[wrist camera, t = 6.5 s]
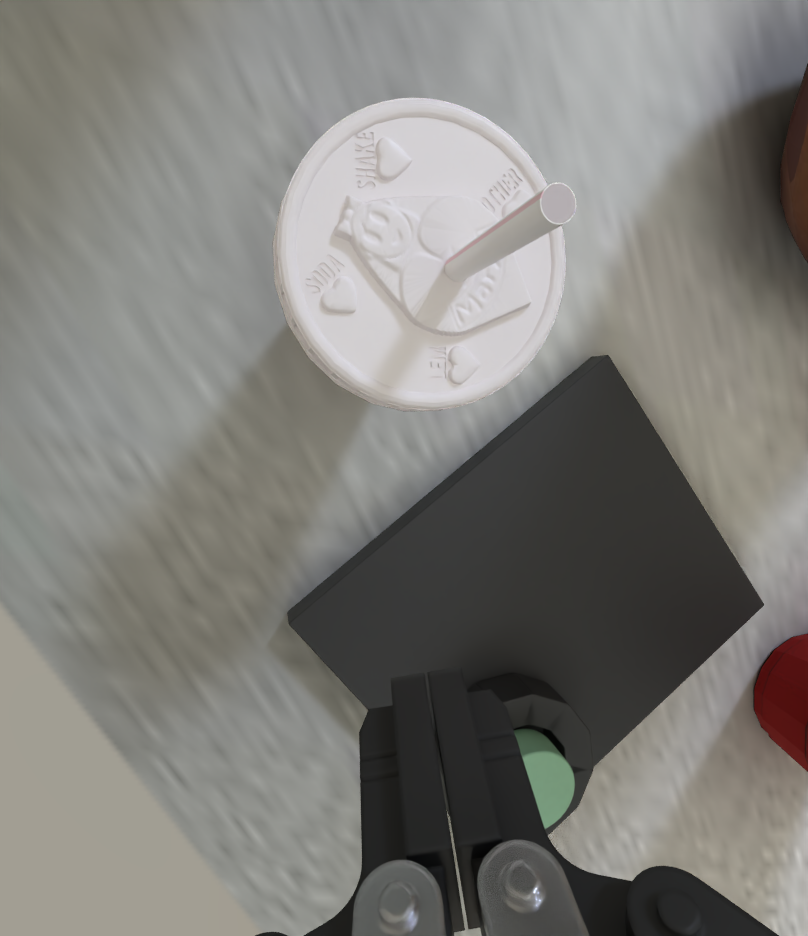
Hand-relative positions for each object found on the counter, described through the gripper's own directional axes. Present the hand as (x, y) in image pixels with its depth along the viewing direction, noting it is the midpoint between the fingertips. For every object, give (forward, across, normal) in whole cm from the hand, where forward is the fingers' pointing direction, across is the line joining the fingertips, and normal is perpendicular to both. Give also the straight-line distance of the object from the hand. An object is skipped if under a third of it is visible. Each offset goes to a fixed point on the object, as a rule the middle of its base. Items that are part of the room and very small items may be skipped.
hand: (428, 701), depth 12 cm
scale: (+10, -5, +7) cm, 14 cm away
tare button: (+6, -3, +11) cm, 13 cm away
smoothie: (+13, 0, -6) cm, 14 cm away
